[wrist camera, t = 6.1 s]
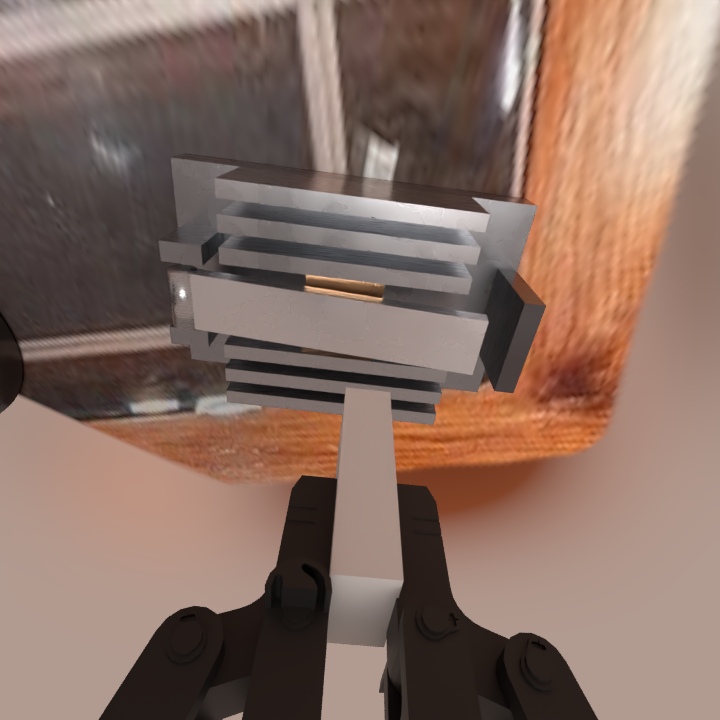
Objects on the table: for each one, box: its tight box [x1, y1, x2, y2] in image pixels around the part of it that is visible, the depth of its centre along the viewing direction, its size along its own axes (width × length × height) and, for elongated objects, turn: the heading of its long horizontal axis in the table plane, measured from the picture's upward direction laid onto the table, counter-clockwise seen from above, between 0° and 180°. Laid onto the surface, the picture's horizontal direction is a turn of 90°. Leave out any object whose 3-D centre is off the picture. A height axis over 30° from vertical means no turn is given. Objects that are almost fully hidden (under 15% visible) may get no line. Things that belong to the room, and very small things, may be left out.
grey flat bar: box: [167, 265, 489, 375], centre depth 21 cm, size 16×3×1 cm, turn 83°
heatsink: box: [159, 154, 546, 425], centre depth 23 cm, size 19×12×7 cm, turn 83°
